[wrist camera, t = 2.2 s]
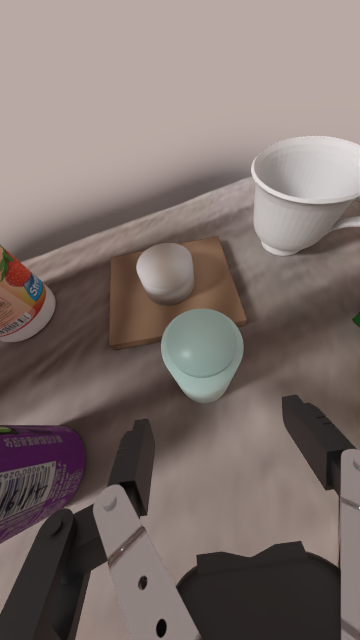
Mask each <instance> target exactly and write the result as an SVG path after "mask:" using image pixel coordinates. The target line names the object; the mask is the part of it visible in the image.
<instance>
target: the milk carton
mask: <svg viewBox="0 0 360 640" xmlns="http://www.w3.org/2000/svg"><path fill="white" fill-rule="evenodd" d="M352 320H353V321H354V322H355V323H356V324H357V325H358V326H359V327H360V312H359V313H358V314H357V315H356V316H355V317H354V318H353V319H352Z"/></svg>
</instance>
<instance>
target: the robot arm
mask: <svg viewBox="0 0 360 640" xmlns="http://www.w3.org/2000/svg"><path fill="white" fill-rule="evenodd" d="M282 413H283V421H284V425H285V427H286V429H287V431H288V432H289V434H290V435H291V437H292V439H293V440H294V442H295V443H296V445H297V446H298V448H299V450H300V451H301V453H302V454H303V456H304V457H305V459H306V460H307V462H308V464H309V465H310V467H311V468H312V470H313V471H314V473H315V475H316V476H317V478H318V479H319V481H320V482H321V484H322V486H323V487H324V489H325V490H332V489H334V490H335V491H336V493H337V494H338V496H339V504H338V556H337V566H335V565H334V564H332V563H331V562H329V561H328V560H326V559H324V558H322V557H320V556H318V555H316V554H313V553H310V552H306V551H305V549H304V547H303V545H302V542H301V541H296V542H289V543H281V544H275V545H273V546H271V547H269V548H268V549H266V550H264V551H262V552H260V553H259V554H257V555H255V556H253V557H250V558H249V557H244V556H239V555H235V554H230V553H226V552H215V553H208V554H200V555H197V566H195V567H194V568H192V569H191V570H190V571H188V572H187V573H186V574H185V575H184V576H183V577H182V578H181V580H180V581H179V583H178V584H177V585H176V587H175V585H174V583H173V581H172V579H171V577H170V575H169V574H168V572H167V570H166V568H165V566H164V564H163V562H162V560H161V558H160V556H159V554H158V552H157V550H156V548H155V546H154V544H153V542H152V540H151V539H150V537H149V535H148V533H147V531H146V529H145V527H143V526H142V524H141V522H140V516H146V515H147V512H148V503H149V495H150V486H151V477H152V469H153V460H154V452H155V442H154V437H153V433H152V430H151V426H150V423H149V420H148V419H142V420H136V421H135V423H134V426H133V430H132V431H127V432H126V434H125V435H124V437H123V438H122V439H121V443H120V446H119V450H118V452H117V457H116V459H115V462H114V466H113V469H112V472H111V475H110V479H109V482H108V485H107V488H106V489H104V490H103V491H102V492H101V493H100V494H99V496H98V497H97V499H96V501H95V503H94V504H92V505H90V506H89V507H87V508H85V509H83V510H81V511H79V512H77V513H75V514H73V513H72V511H71V510H70V509H61V510H59V511H57V512H55V513H54V514H52V515H51V516H50V517H49V518H48V519H47V520H46V521H45V522H44V524H43V525H42V527H41V528H40V530H39V532H38V534H37V536H36V538H35V540H34V543H33V545H32V547H31V549H30V551H29V553H28V556H27V558H26V560H25V562H24V564H23V566H22V569H21V571H20V573H19V575H18V577H17V579H16V582H15V584H14V586H13V588H12V590H11V592H10V595H9V597H8V599H7V601H6V603H5V605H4V608H3V610H2V612H1V614H0V640H75V637H76V633H77V628H78V624H79V620H80V616H81V611H82V607H83V603H84V599H85V594H86V590H87V586H88V582H89V577H90V573H91V570H93V569H95V568H96V567H98V566H100V565H101V564H103V563H105V562H106V561H108V566H109V570H110V573H111V576H112V580H113V583H114V586H115V589H116V592H117V596H118V599H119V602H120V605H121V608H122V612H123V615H124V618H125V621H126V625H127V628H128V631H129V634H130V637H131V640H360V450H357V449H356V448H355V447H354V446H353V445H352V444H351V442H350V441H349V440H348V439H347V438H346V437H345V436H344V435H343V434H342V433H341V432H340V431H339V430H338V429H337V428H336V426H335V425H334V424H332V422H331V421H330V420H329V419H328V418H326V416H325V415H324V414H323V413H322V412H321V410H320V409H319V408H317V407H315V406H314V405H312V404H310V403H303V401H302V400H301V399H300V398H299V397H298V396H297V395H291V396H285V397H282Z"/></svg>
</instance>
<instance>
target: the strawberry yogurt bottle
mask: <svg viewBox="0 0 360 640" xmlns="http://www.w3.org/2000/svg"><path fill="white" fill-rule="evenodd" d="M55 305H56V301H55V297H54V295H53V293H52V291H51V290H50V289H49V288H48V287H47V286H46V285H45V284H44V283H43V282H42V281H41V280H40V279H38V278H37V277H36V276H35V275H34V274H33V273H32V272H30V271H29V270H28V269H27V268H26V267H25V266H24V265H22V264H21V263H20V262H19V261H18V260H17V259H16V258H14V257H13V256H12V255H11V254H10V253H9V252H8V251H6V250H5V249H4V248H3V247H2V246H1V245H0V341H3V342H19V341H23V340H26V339H28V338H30V337H32V336H34V335H35V334H37V333H38V332H39V331H40V330H42V329H43V328H44V327H45V326H46V324H47V323H48V322H49V320H50V319H51V317H52V315H53V313H54V310H55Z"/></svg>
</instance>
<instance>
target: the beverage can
mask: <svg viewBox="0 0 360 640" xmlns="http://www.w3.org/2000/svg"><path fill="white" fill-rule="evenodd" d="M84 467H85V451H84V446H83V443H82V441H81V439H80V437H79V436H78V434H77V433H76V432H75V431H74V430H72V429H71V428H69V427H66V426H47V425H0V544H1V543H2V542H4V541H6V540H8V539H9V538H11V537H13V536H15V535H17V534H18V533H20V532H22V531H24V530H25V529H27V528H29V527H31V526H33V525H34V524H36V523H38V522H40V521H42V520H43V519H45V518H47V517H49V516H50V515H52V514H54V513H55V512H57V511H59V510H60V509H61V508H63V507H64V506H65V505H66V504H67V503H68V502H69V500H70V499H71V498H72V496H73V495H74V493H75V492H76V490H77V488H78V486H79V484H80V482H81V479H82V476H83V472H84Z"/></svg>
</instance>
